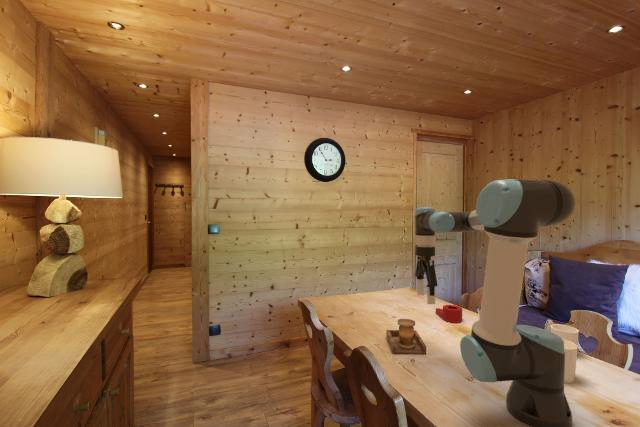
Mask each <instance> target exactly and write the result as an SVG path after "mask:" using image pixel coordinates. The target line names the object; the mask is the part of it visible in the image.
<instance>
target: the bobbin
mask: <svg viewBox="0 0 640 427" xmlns="http://www.w3.org/2000/svg"><path fill="white" fill-rule="evenodd" d="M397 325H398V330H399V341H398V346H399V347H400V348H403V349H413V348H415V343H414V342H413V341H414V330H415V328H414V327H415V326H416V321H415V320H413V319H410V318H399V319H398V320H397Z"/></svg>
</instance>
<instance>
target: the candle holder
mask: <svg viewBox="0 0 640 427" xmlns="http://www.w3.org/2000/svg"><path fill="white" fill-rule="evenodd" d="M562 340H563V341H564V351H565V370H564V383H567V384H568V383H569V384H570V383H573V382H575V380H576V379H575V378H576V368H577V357H578V349H579V348H578V347H579V345H578V346H577V345H576V344H574V343H573V342H570V341H568V340H564V339H562Z"/></svg>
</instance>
